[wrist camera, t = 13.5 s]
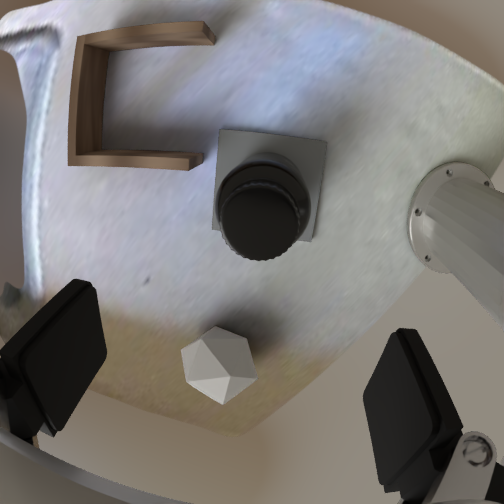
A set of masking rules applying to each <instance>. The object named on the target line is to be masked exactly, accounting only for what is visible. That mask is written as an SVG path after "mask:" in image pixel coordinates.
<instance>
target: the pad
mask: <svg viewBox="0 0 504 504" xmlns="http://www.w3.org/2000/svg"><path fill="white" fill-rule="evenodd" d="M326 147H327V142H324V141H318V140H312V139H305V138H299V137H291V136H284V135H276V134H268V133H259V132H249V131H238V130H226V129H220V130H219V141H218V152H217V164H216V177H215V190H214V204H213V219H212V230H219V231H220V227H219V224H218V222H217V219H216V214H215V198H216V193H217V191H218V188H219V186H220V184H221V182H222V181H223V179H224V178H225V177H226V175H227V174H228V173H229V172H230V171H231V170H233V169H234V168H235V167H236V166H237V165H239V164H240V163H241V162H242V161H243V160H245V159H246V158H248V157H250V156H252V155H254V154H257V153H262V152H272V153H277V154H280V155H283V156H285V157H286V158H288V159H289V160H291V161H292V162H293V163H294V164H295V165H296V166H297V168H298V169H299V171H300V172H301V174H302V177H303V179H304V181H305V184H306V186H307V188H308V191H309V194H310V198H311V216H310V220H309V223H308V226H307V228H306V230H305V231H304V233H303V234H302V236H301V237H300V238H299V239H298V240H299V241H307V242H311V240H312V234H313V229H314V223H315V217H316V211H317V205H318V199H319V193H320V187H321V181H322V174H323V167H324V161H325V154H326Z"/></svg>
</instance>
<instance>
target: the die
mask: <svg viewBox="0 0 504 504" xmlns="http://www.w3.org/2000/svg"><path fill="white" fill-rule="evenodd" d="M181 353H182V359H183V365H184V371H185V377H186V382H187V383H189V384H190V385H191V386H193V387H194V388H196V389H197V390H199V391H201V392H202V393H204V394H205V395H207V396H209V397H210V398H212V399H214V400H215V401H217V402H219V403H220V404H222V405H223V404H225V403H226V402H228V401H229V400H230V399H232V398H233V397H234V396H236V395H237V394H239V393H240V392H241V391H243V390H244V389H245V388H247V387H248V386H249V385H251V384H252V383H253V382H255V381H256V380H257V379H258V376H257V373H256V369H255V366H254V362H253V359H252V355H251V352H250V348H249V345H248V341H247V338H244V337H242V336H239V335H236V334H234V333H231V332H229V331H226V330H224V329H222V328H219V327H217V326H214V327H213V328H212V329H210V330H209V331H207V332H206V333H204V334H203V335H202V336H200V337H199V338H197V339H196V340H194V341H193V342H191V343H190V344H189V345H187V346H186V347H184V348H183V349H181Z"/></svg>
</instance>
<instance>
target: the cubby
mask: <svg viewBox="0 0 504 504" xmlns="http://www.w3.org/2000/svg"><path fill="white" fill-rule="evenodd" d="M214 43H215V35H214V34H213V33H212V31H211V30H210V29H209V27H208V26H207V25H206V23H205V22H204V21H190V22H171V23H159V24H148V25H140V26H132V27H125V28H118V29H112V30H106V31H101V32H96V33H91V34H86V35H82V36H77V42H76V48H75V55H74V62H73V70H72V79H71V90H70V102H69V119H68V166H107V167H135V168H154V169H170V170H185V171H189V170H191V169H193V168H195V167H196V166H198V165H200V164H202V163H203V153H192V152H175V151H153V150H102V124H103V107H104V94H105V84H106V74H107V66H108V58H109V52H112V51H120V50H128V49H138V48H149V47H163V46H186V45H214Z"/></svg>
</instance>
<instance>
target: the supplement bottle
mask: <svg viewBox="0 0 504 504" xmlns="http://www.w3.org/2000/svg"><path fill="white" fill-rule="evenodd" d="M215 214H216V219H217V222H218V224H219V227H220V231H221V232H222V237H223V238H224V239H225V242H226V244H227V245H229V246H230V248H231V250H233V251H235V252H236V254H238V255H241V256H242V257H243V258H248V259H250V260H257V261H260V260H265V261H266V260H268V259H274V258H275V257H277V256H281V255H282V253H284V252H286V251H287V250H288V248H289V247H291V246H292V244H294V243H295V242H296V241H297V240H298V239H299V238H300V237H301V236H302V234H303V233H304V231H305V230H306V228H307V226H308V223H309V220H310V216H311V198H310V194H309V191H308V188H307V186H306V184H305V181H304V179H303V177H302V174H301V172H300V171H299V169H298V168H297V166H296V165H295V164H294V163H293V162H292V161H291V160H289V159H288V158H286V157H285V156H283V155H280V154H277V153H272V152H262V153H257V154H254V155H252V156H250V157H248V158H246V159H245V160H243V161H242V162H241V163H240V164H239V165H237V166H236V167H235V168H234V169H233V170H231V171H230V172H229V173H228V174H227V175H226V177H225V178H224V179H223V181H222V182H221V184H220V186H219V188H218V191H217V193H216V198H215Z"/></svg>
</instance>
